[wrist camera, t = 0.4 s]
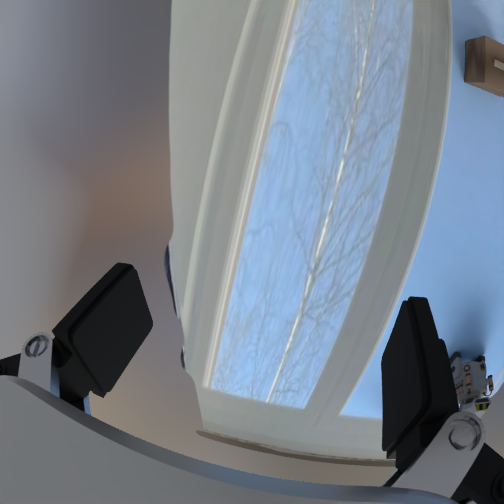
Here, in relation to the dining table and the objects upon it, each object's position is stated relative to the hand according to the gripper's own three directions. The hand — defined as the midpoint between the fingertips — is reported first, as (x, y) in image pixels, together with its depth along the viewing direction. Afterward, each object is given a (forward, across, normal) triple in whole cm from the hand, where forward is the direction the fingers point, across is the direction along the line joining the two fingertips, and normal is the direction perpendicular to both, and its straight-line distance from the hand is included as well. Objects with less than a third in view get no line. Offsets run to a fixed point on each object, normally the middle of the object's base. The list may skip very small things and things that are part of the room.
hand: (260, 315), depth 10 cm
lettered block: (+31, -23, -14) cm, 41 cm away
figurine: (+31, -36, +40) cm, 62 cm away
